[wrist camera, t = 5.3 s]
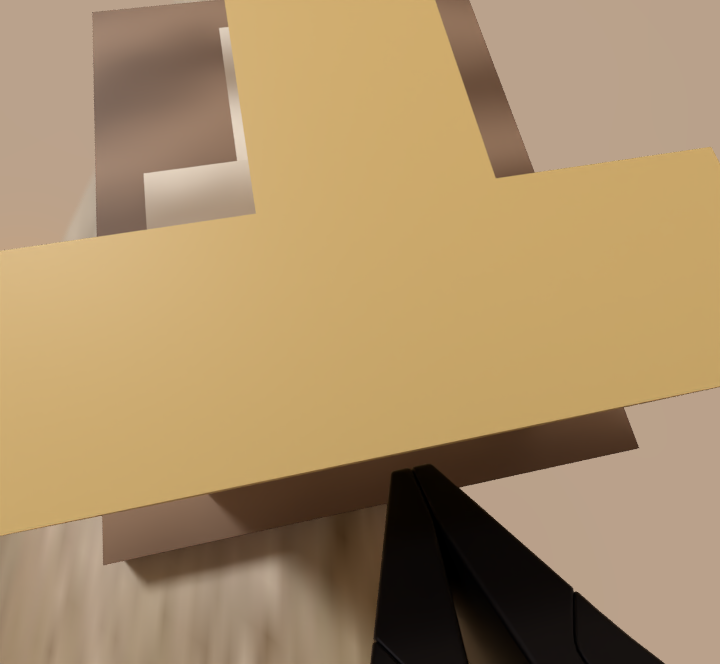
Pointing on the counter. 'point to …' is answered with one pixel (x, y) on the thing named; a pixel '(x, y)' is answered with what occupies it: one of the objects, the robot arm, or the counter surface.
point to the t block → (349, 287)
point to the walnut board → (235, 198)
